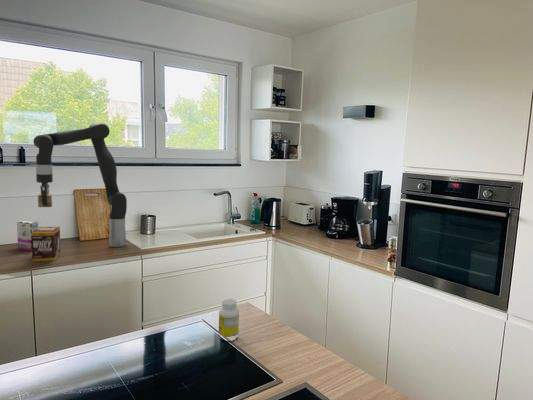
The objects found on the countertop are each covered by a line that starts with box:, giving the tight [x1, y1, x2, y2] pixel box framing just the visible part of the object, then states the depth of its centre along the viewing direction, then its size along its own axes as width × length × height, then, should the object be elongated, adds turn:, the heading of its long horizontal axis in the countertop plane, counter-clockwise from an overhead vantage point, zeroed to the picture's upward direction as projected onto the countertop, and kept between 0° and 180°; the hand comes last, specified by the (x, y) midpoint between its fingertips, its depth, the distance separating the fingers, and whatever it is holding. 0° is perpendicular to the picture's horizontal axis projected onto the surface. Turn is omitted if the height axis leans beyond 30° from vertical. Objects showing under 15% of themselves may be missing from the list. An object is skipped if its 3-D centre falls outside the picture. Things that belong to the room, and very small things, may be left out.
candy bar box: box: [16, 219, 39, 252], centre depth 228 cm, size 11×5×16 cm, turn 70°
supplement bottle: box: [218, 298, 240, 337], centre depth 133 cm, size 7×7×13 cm
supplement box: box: [31, 226, 61, 262], centre depth 214 cm, size 10×15×16 cm
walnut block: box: [37, 193, 53, 208], centre depth 211 cm, size 6×6×6 cm
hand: (45, 204), depth 211 cm, fingers closed on walnut block, 6 cm apart
